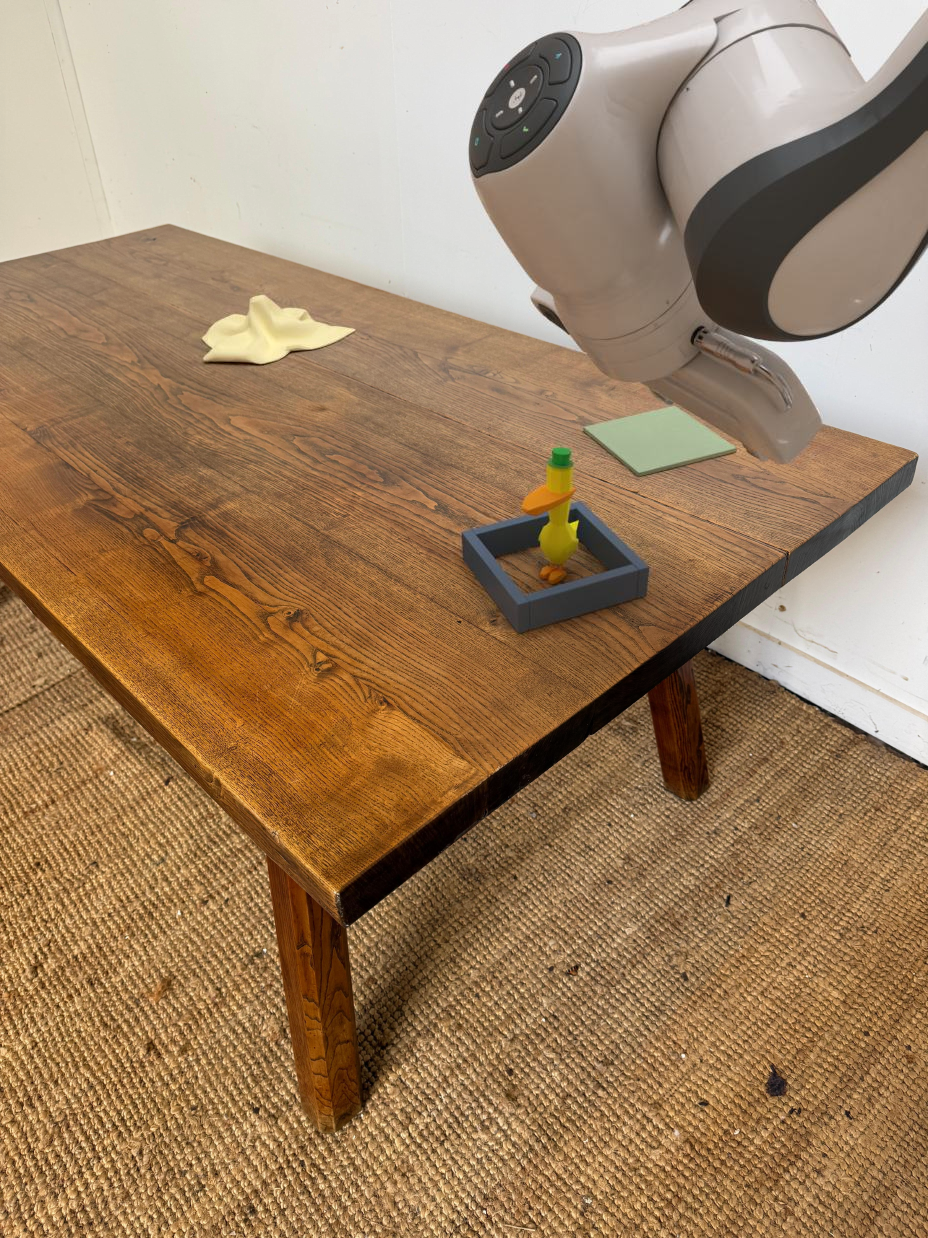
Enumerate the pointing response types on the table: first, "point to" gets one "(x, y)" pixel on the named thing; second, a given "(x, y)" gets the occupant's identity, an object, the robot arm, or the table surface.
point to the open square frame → (562, 600)
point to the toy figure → (555, 513)
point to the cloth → (267, 333)
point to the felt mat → (658, 440)
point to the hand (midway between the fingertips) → (715, 421)
